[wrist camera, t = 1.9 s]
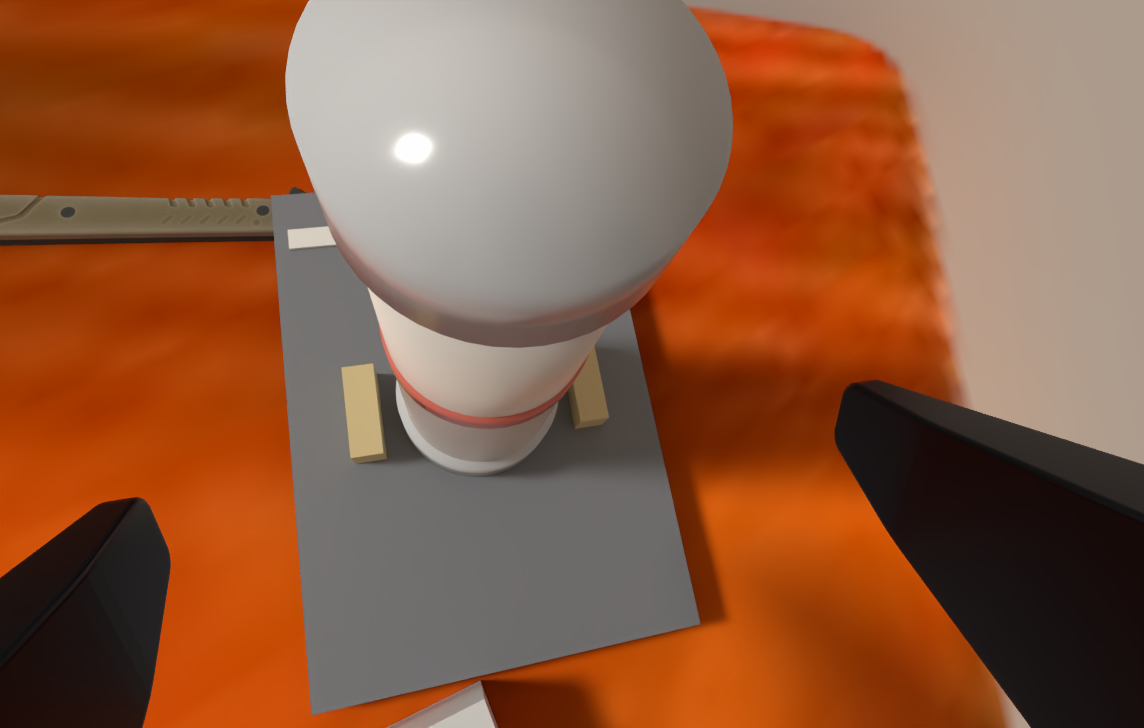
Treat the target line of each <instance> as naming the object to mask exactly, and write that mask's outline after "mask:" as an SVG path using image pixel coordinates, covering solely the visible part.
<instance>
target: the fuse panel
mask: <svg viewBox="0 0 1144 728" xmlns="http://www.w3.org/2000/svg"><path fill="white" fill-rule="evenodd" d="M271 206H272V218H273V231H274V244H275V256H276V269H277V282H278V295H279V307H280V320H281V333H282V346H283V358H284V371H285V384H286V396H287V409H288V422H289V435H290V447H291V460H292V473H293V485H294V498H295V511H296V524H297V536H298V549H299V562H300V575H301V587H302V600H303V613H304V625H305V638H306V651H307V664H308V676H309V689H310V702H311V714H312V715H315V714H319V713H324V712H328V711H332V710H337V709H341V708H345V707H349V706H354V705H358V704H362V703H366V702H371V701H375V700H379V699H384V698H388V697H392V696H396V695H401V694H405V693H409V692H413V691H418V690H422V689H426V688H431V687H435V686H439V685H443V684H448V683H452V682H456V681H460V680H465V679H469V678H473V677H478V676H482V675H486V674H490V673H495V672H499V671H503V670H507V669H512V668H516V667H520V666H525V665H529V664H533V663H537V662H542V661H546V660H550V659H554V658H559V657H563V656H567V655H572V654H576V653H580V652H584V651H589V650H593V649H597V648H601V647H606V646H610V645H614V644H619V643H623V642H627V641H631V640H636V639H640V638H644V637H648V636H653V635H657V634H661V633H666V632H670V631H674V630H678V629H683V628H687V627H691V626H695V625H700V619H699V615H698V611H697V606H696V602H695V597H694V593H693V588H692V584H691V579H690V575H689V570H688V566H687V562H686V557H685V553H684V548H683V544H682V539H681V535H680V530H679V526H678V521H677V517H676V513H675V508H674V504H673V499H672V495H671V490H670V486H669V481H668V477H667V472H666V468H665V464H664V459H663V455H662V450H661V446H660V441H659V437H658V432H657V428H656V423H655V419H654V415H653V410H652V406H651V401H650V397H649V392H648V388H647V383H646V379H645V374H644V370H643V366H642V361H641V357H640V352H639V348H638V343H637V339H636V334H635V330H634V325H633V321H632V317H631V312H630V309H629V310H628V311H627V312H625V313H624V314H622V315H621V316H619V317H618V318H617V319H615V320H614V321H612V322H611V323H609V324H608V325H607V327H606V328H605V330H604V331H603V333H602V334H601V336H600V338H599V339H598V341H597V342H596V344H595V345H594V347H593V348H592V350H591V351H590V353H589V355H588V358H587V360H586V362H585V365H584V366H583V368H582V370H581V371H580V373H579V375H578V376H577V378H576V379H575V381H574V382H573V384H572V385H571V387H570V388H569V389H568V391H567V392H566V393H565V394H564V396H563V397H562V398H561V399H560V400H559V401H558V407H557V410H556V414H555V417H554V420H553V422H552V424H551V426H550V428H549V430H548V431H547V433H546V435H545V436H544V437H543V439H542V440H541V442H540V443H539V444H538V446H537V447H536V448H535V449H534V451H533V452H532V453H531V454H530V455H529V456H528V457H527V458H526V459H524V460H523V461H522V462H520V463H519V464H518V465H516V466H514V467H512V468H511V469H509V470H506V471H504V472H501V473H498V474H494V475H490V476H482V477H469V476H462V475H457V474H454V473H450V472H448V471H445V470H443V469H441V468H439V467H437V466H436V465H434V464H432V463H431V462H430V461H428V460H427V459H426V458H425V457H423V455H422V454H421V453H420V452H419V451H418V450H417V449H416V448H415V446H414V445H413V444H412V442H411V440H410V439H409V437H408V435H407V433H406V430H405V428H404V425H403V422H402V420H401V417H400V414H399V411H398V406H397V402H396V380H397V379H396V377H395V375H394V373H393V371H392V370H391V367H390V364H389V361H388V359H387V356H386V353H385V350H384V347H383V344H382V340H381V335H380V330H379V322H378V319H377V316H376V312H375V309H374V306H373V303H372V300H371V297H370V294H369V291H368V287H367V286H366V285H365V284H364V283H363V282H362V281H361V280H360V279H359V278H358V276H357V275H356V274H355V272H354V271H353V270H352V268H351V267H350V266H349V264H348V263H347V262H346V260H345V259H344V257H343V256H342V254H341V252H340V250H339V248H338V246H337V245H336V243H335V241H334V239H333V237H332V235H331V232H330V230H329V227H328V224H327V222H326V219H325V216H324V214H323V211H322V208H321V206H320V203H319V201H318V198H317V195H316V193H302V194H289V195H275V196H271Z"/></svg>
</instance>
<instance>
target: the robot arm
mask: <svg viewBox="0 0 1144 728" xmlns="http://www.w3.org/2000/svg"><path fill="white" fill-rule="evenodd" d="M835 442H836V445H837V448H838V450H839V451H840V453H841V455H842V456H843V458H844V460H845V461H846V463H847V465H848V467H849V468H850V470H851V472H852V473H853V475H854V477H855V478H856V480H857V482H858V483H859V485H860V487H861V488H862V490H863V492H864V493H865V495H866V497H867V499H868V500H869V502H870V504H871V505H872V507H873V509H874V510H875V512H876V514H877V515H878V517H879V519H880V520H881V522H882V524H883V525H884V527H885V528H886V530H887V531H888V533H889V535H890V536H891V538H892V539H893V540H894V542H895V543H896V545H897V546H898V548H899V549H900V550H901V552H902V553H903V555H904V556H905V557H906V559H907V560H908V561H909V563H910V564H911V565H912V567H913V568H914V569H915V571H916V572H917V574H918V575H919V576H920V578H921V579H922V580H923V582H924V583H925V584H926V586H927V587H928V588H929V590H930V591H931V593H932V594H933V595H934V597H935V598H936V599H937V601H938V602H939V603H940V605H941V606H942V607H943V609H944V610H945V612H946V613H947V614H948V616H949V617H950V618H951V620H952V621H953V622H954V624H955V625H956V626H957V628H958V629H959V631H960V632H961V633H962V635H963V636H964V637H965V639H966V640H967V641H968V643H969V644H970V645H971V647H972V648H973V650H974V651H975V652H976V654H977V655H978V656H979V658H980V659H981V660H982V662H983V663H984V665H985V666H986V667H987V669H988V670H989V671H990V673H991V674H992V675H993V677H994V678H995V679H996V681H997V682H998V684H999V685H1000V686H1001V688H1002V689H1003V690H1004V692H1005V693H1006V694H1007V696H1008V697H1009V698H1010V700H1011V701H1012V703H1013V704H1014V705H1015V707H1016V708H1017V709H1018V711H1019V712H1020V713H1021V715H1022V716H1023V717H1024V719H1025V720H1026V722H1027V723H1028V724H1029V726H1030V727H1031V728H1144V465H1143V464H1140V463H1137V462H1134V461H1131V460H1127V459H1125V458H1121V457H1118V456H1115V455H1112V454H1109V453H1105V452H1103V451H1099V450H1096V449H1093V448H1090V447H1087V446H1084V445H1081V444H1077V443H1074V442H1071V441H1068V440H1065V439H1061V438H1059V437H1055V436H1052V435H1049V434H1046V433H1043V432H1040V431H1036V430H1033V429H1030V428H1027V427H1024V426H1021V425H1017V424H1015V423H1011V422H1008V421H1005V420H1002V419H999V418H996V417H993V416H989V415H986V414H983V413H980V412H977V411H974V410H971V409H967V408H964V407H961V406H958V405H955V404H952V403H949V402H945V401H942V400H939V399H936V398H933V397H930V396H927V395H923V394H920V393H917V392H914V391H911V390H908V389H905V388H901V387H898V386H895V385H892V384H889V383H886V382H883V381H879V380H869V381H863V382H857V383H852V384H850V385H848V386H847V387H846V389H845V390H844V393H843V396H842V401H841V405H840V409H839V414H838V418H837V422H836V427H835ZM170 562H171V561H170V554H169V550H168V547H167V545H166V542H165V540H164V538H163V535H162V533H161V531H160V529H159V526H158V524H157V522H156V519H155V517H154V515H153V512H152V510H151V508H150V506H149V504H148V503H147V502H146V501H145V500H144V499H141V498H139V497H134V498H127V499H121V500H115V501H108V502H103V503H101V504H99V505H97V506H95V507H94V508H93V509H91V510H90V511H89V512H87V513H86V514H85V515H83V516H82V517H81V518H79V519H78V520H77V521H75V522H74V523H73V524H71V525H70V526H69V527H67V528H66V529H65V530H64V531H62V532H61V533H60V534H58V535H57V536H56V537H54V538H53V539H52V540H50V541H49V542H48V543H46V544H45V545H44V546H42V547H41V548H40V549H38V550H37V551H36V552H34V553H33V554H32V555H30V556H29V557H28V558H26V559H25V560H24V561H22V562H21V563H20V564H18V565H17V566H16V567H14V568H13V569H12V570H10V571H9V572H8V573H6V574H5V575H4V576H2V577H1V578H0V728H142V727H143V724H144V720H145V716H146V712H147V708H148V704H149V700H150V696H151V691H152V685H153V680H154V674H155V668H156V661H157V654H158V648H159V641H160V635H161V628H162V621H163V615H164V608H165V602H166V595H167V588H168V582H169V575H170Z"/></svg>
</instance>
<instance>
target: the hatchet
mask: <svg viewBox="0 0 1144 728" xmlns="http://www.w3.org/2000/svg"><path fill="white" fill-rule="evenodd" d="M302 193H305V192H303V191H301V190H299V189H297V188H296V187H294V188H292V189H291V191H290V193H289V194H302ZM271 240H274V231H273V218H272V206H271V199H247V200H245V201H243V200H241V199H235V198H230V199H229V200H227V201H226V200H223V199H222V198H212V199H211V200H209V201H208V200H206V199H204V198H194V199H193V200H191V201H190V200H188V199H186V198H176V199H175V200H170V199H168V198H133V197H84V196H45V197H43V198H42V197H40V196H34V195H0V245H47V244H103V243H159V242H215V241H271Z"/></svg>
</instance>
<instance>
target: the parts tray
mask: <svg viewBox="0 0 1144 728" xmlns="http://www.w3.org/2000/svg"><path fill="white" fill-rule="evenodd" d="M386 728H498V726H497V723H496V721H495V718H494V715H493V713H492V710H491V707H490V704H489V702H488V699H487V696H486V694H485V691H484V688H483V686H482V683H481V680H480V681H478V682H476V683H474V684H472V685H470V686H468V687H466V688H464V689H462V690H460V691H458V692H456V693H454V694H452V695H450V696H448V697H446V698H444V699H442V700H440V701H438V702H436V703H434V704H432V705H430V706H428V707H426V708H424V709H422V710H420V711H418V712H416V713H414V714H412V715H410V716H408V717H406V718H404V719H402V720H400V721H398V722H396V723H394V724H392V725H390V726H388V727H386Z"/></svg>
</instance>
